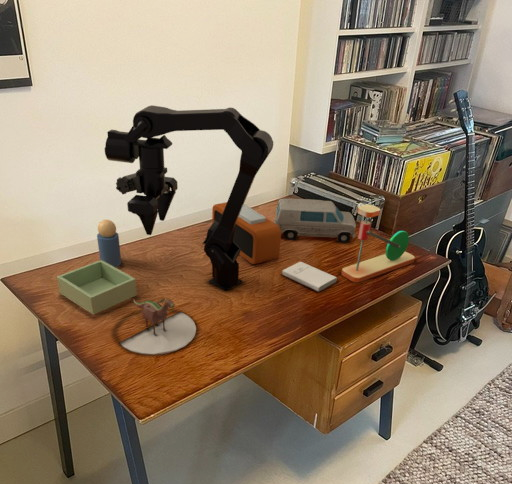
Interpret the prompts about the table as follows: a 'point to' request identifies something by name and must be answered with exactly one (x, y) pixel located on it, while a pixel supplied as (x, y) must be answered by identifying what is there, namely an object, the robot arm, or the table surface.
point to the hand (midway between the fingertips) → (155, 227)
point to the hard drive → (309, 276)
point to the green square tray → (97, 286)
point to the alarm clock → (253, 234)
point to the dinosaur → (161, 330)
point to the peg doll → (108, 243)
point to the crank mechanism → (384, 262)
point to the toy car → (313, 219)
